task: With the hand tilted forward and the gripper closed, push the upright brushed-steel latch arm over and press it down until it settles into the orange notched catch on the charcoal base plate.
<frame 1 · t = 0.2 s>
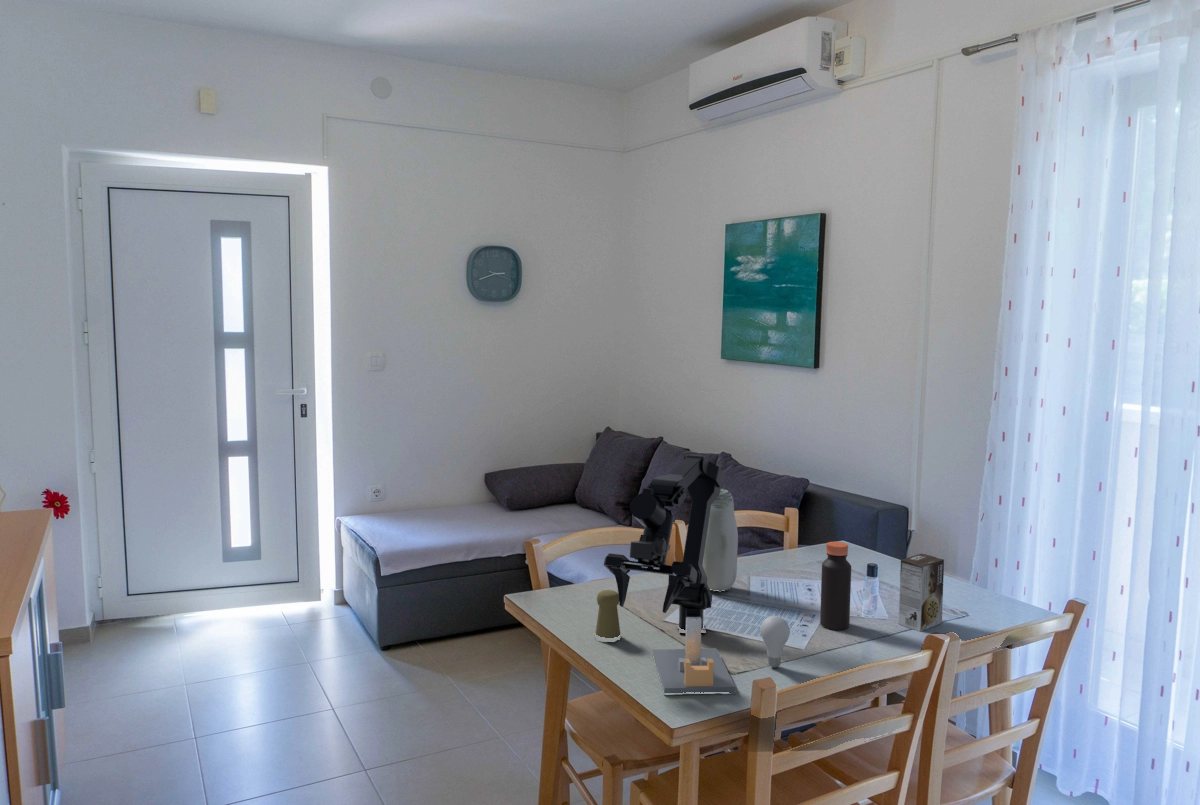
hand: (642, 609, 167), 15 cm above the table, tool tilted 30°, fingers open, 9 cm apart
cork: (607, 638, 191), on the table
latch arm: (693, 641, 169), point 7 cm above the table, hinge at 88.0°
black water bottle: (834, 626, 199), on the table
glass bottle: (717, 591, 224), on the table
lightbulb: (774, 668, 175), on the table
coffee box: (919, 624, 200), on the table
base plate: (691, 674, 171), on the table
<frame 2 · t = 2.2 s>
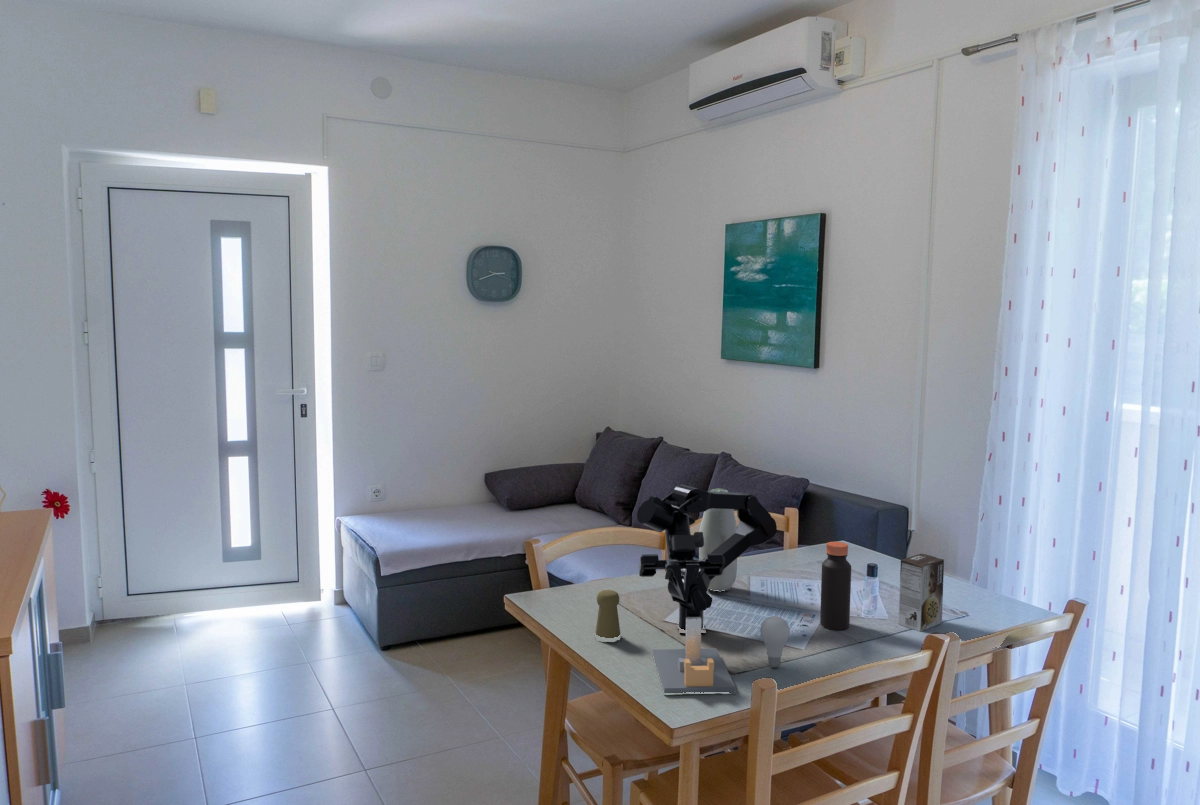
hand: (685, 600, 179), 13 cm above the table, tool tilted 45°, fingers closed
nothing on the table moved.
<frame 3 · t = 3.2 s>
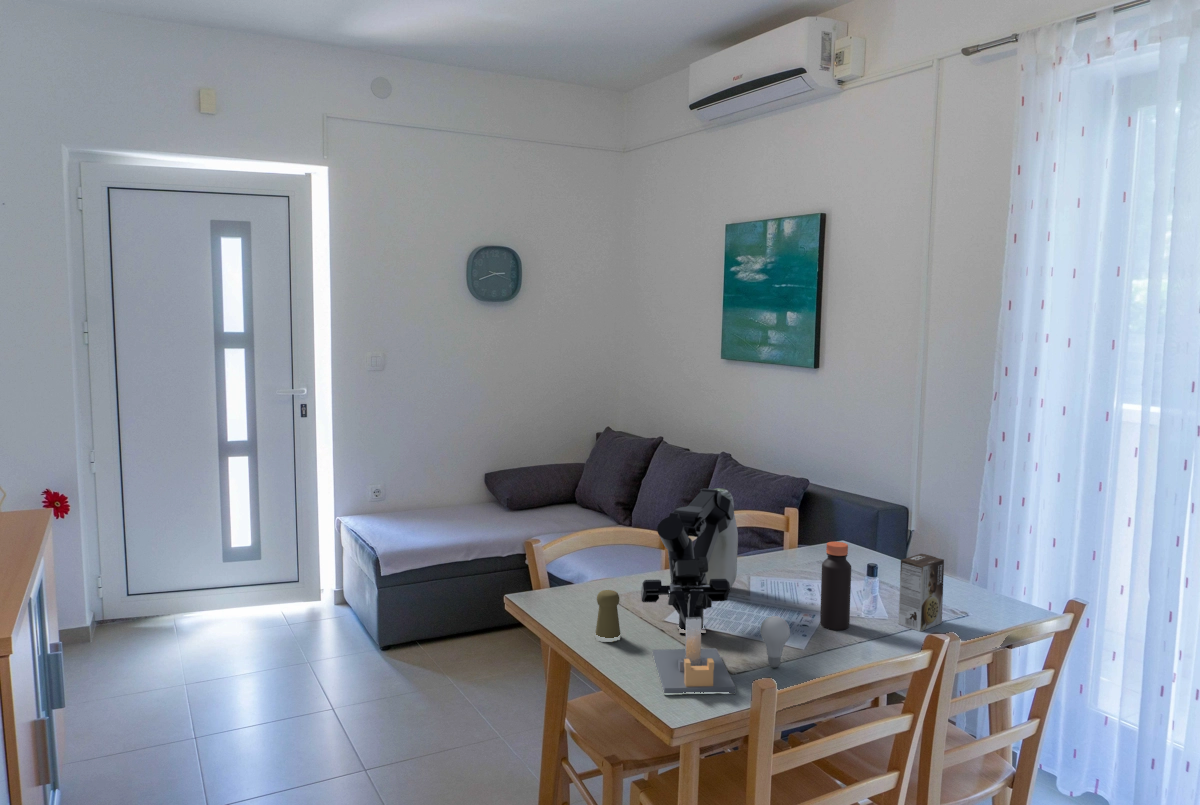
hand: (689, 627, 174), 9 cm above the table, tool tilted 45°, fingers closed
nothing on the table moved.
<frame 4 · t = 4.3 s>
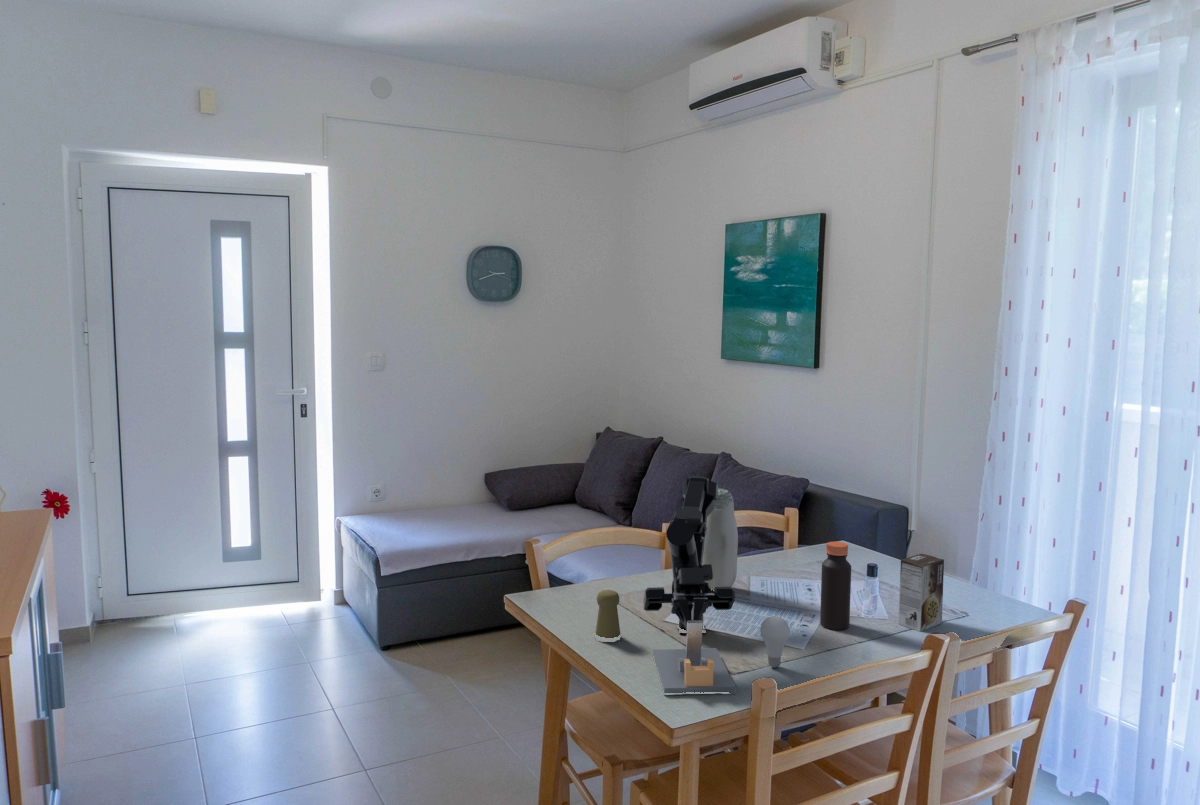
hand: (693, 637, 169), 9 cm above the table, tool tilted 45°, fingers closed, pressing on latch arm
latch arm: (693, 643, 168), point 7 cm above the table, hinge at 78.7°, touching gripper
everything else where it was.
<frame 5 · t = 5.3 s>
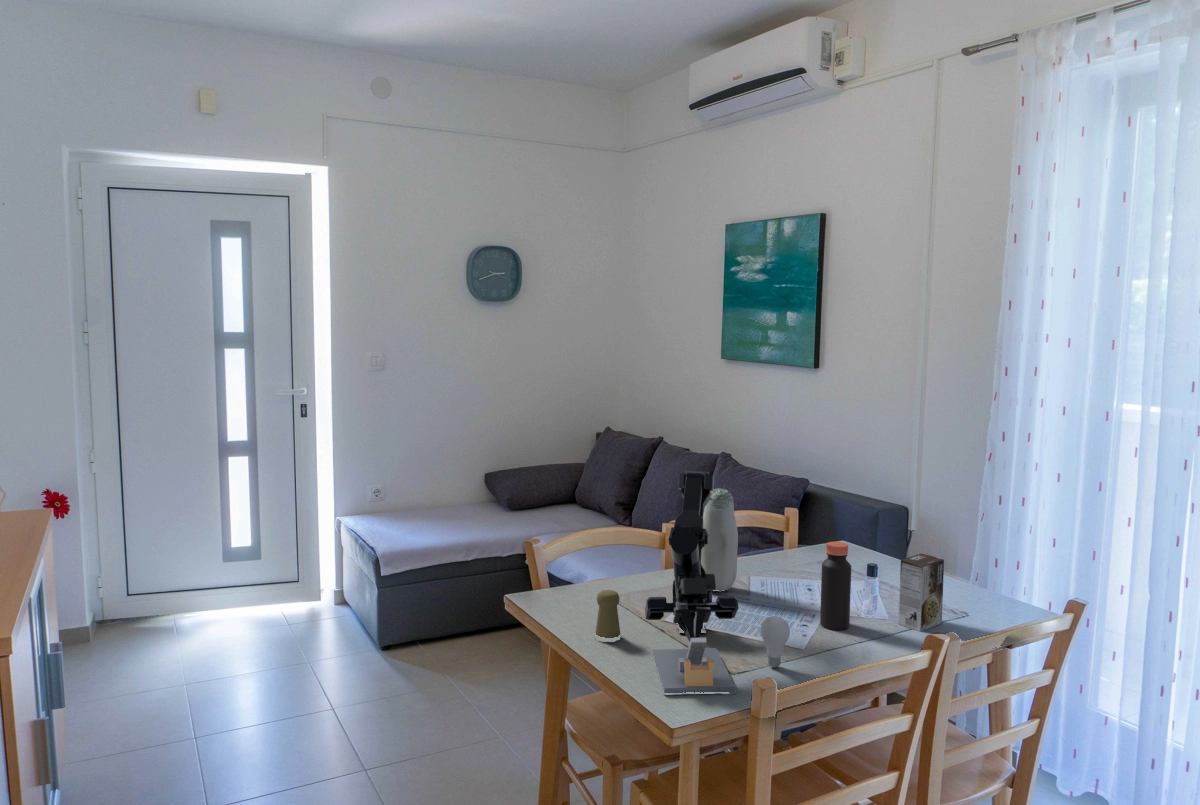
hand: (695, 648, 166), 7 cm above the table, tool tilted 45°, fingers closed, pressing on latch arm
latch arm: (695, 652, 166), point 6 cm above the table, hinge at 50.7°, touching gripper
everything else where it was.
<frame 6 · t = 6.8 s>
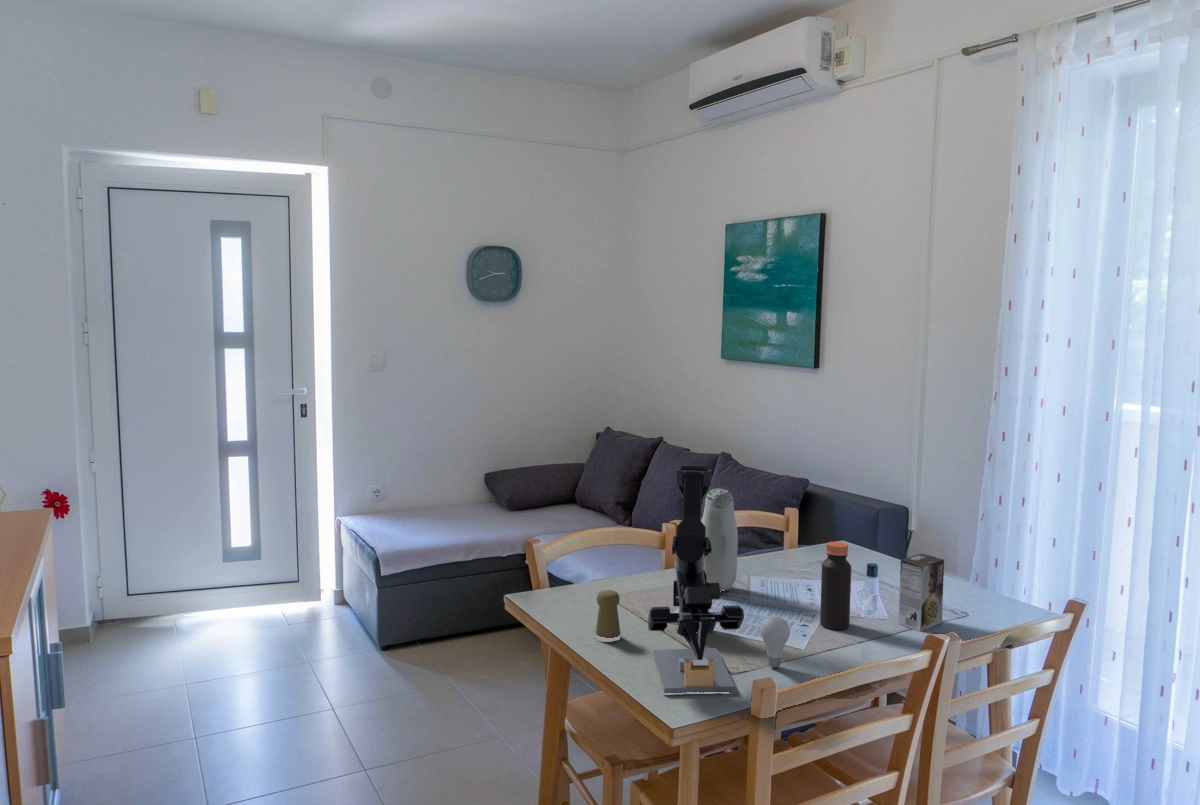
hand: (700, 659, 161), 7 cm above the table, tool tilted 45°, fingers closed, pressing on latch arm
latch arm: (696, 663, 165), point 5 cm above the table, hinge at 25.3°, touching base plate, gripper
everything else where it was.
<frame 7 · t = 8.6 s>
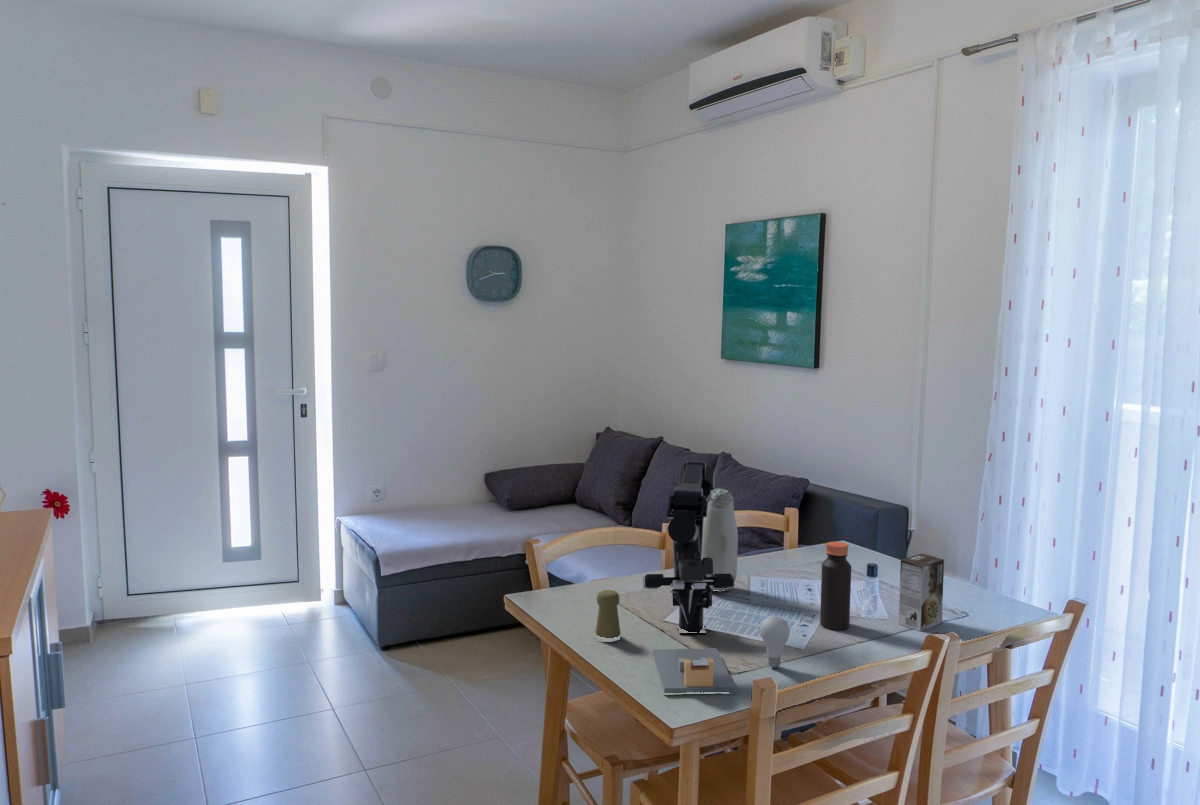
hand: (689, 623, 173), 10 cm above the table, tool tilted 20°, fingers closed
latch arm: (696, 663, 165), point 5 cm above the table, hinge at 25.3°, touching base plate
everything else where it was.
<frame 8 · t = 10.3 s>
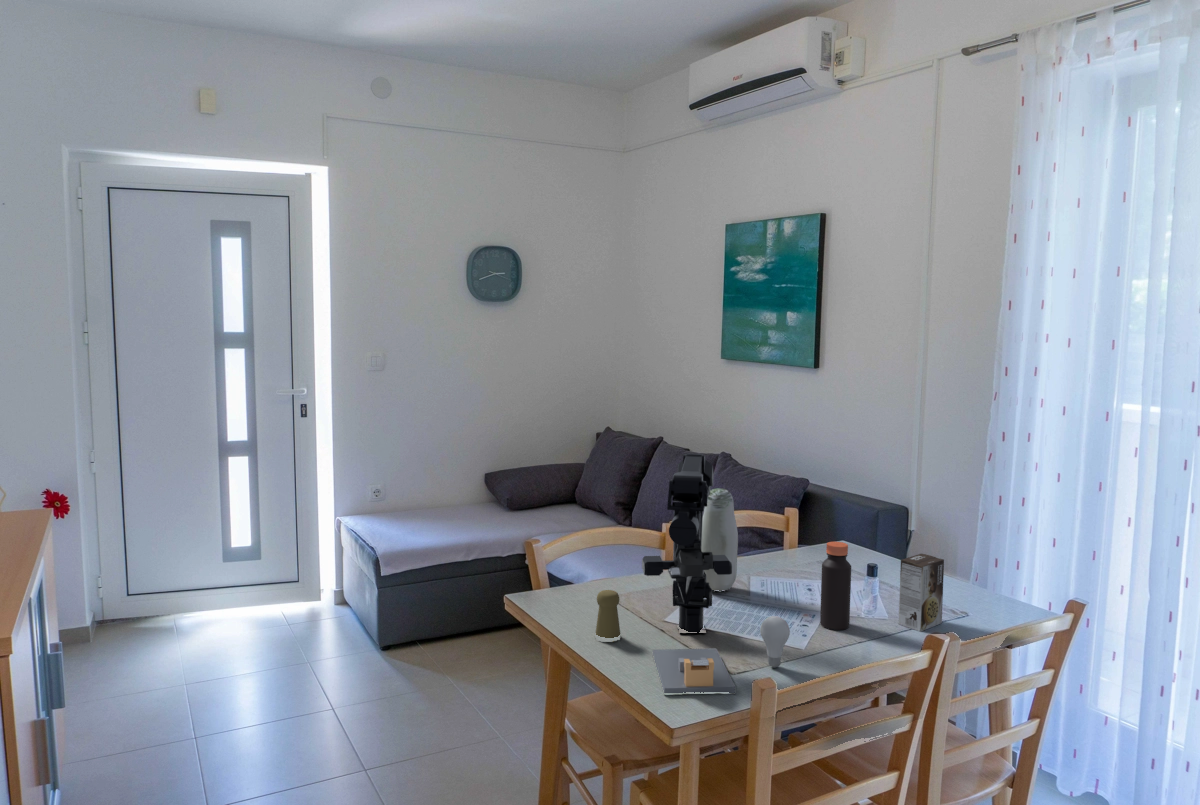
hand: (685, 603, 178), 12 cm above the table, tool pointing down, fingers closed
nothing on the table moved.
at the end: latch arm at +25° (first picture: +88°) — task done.
